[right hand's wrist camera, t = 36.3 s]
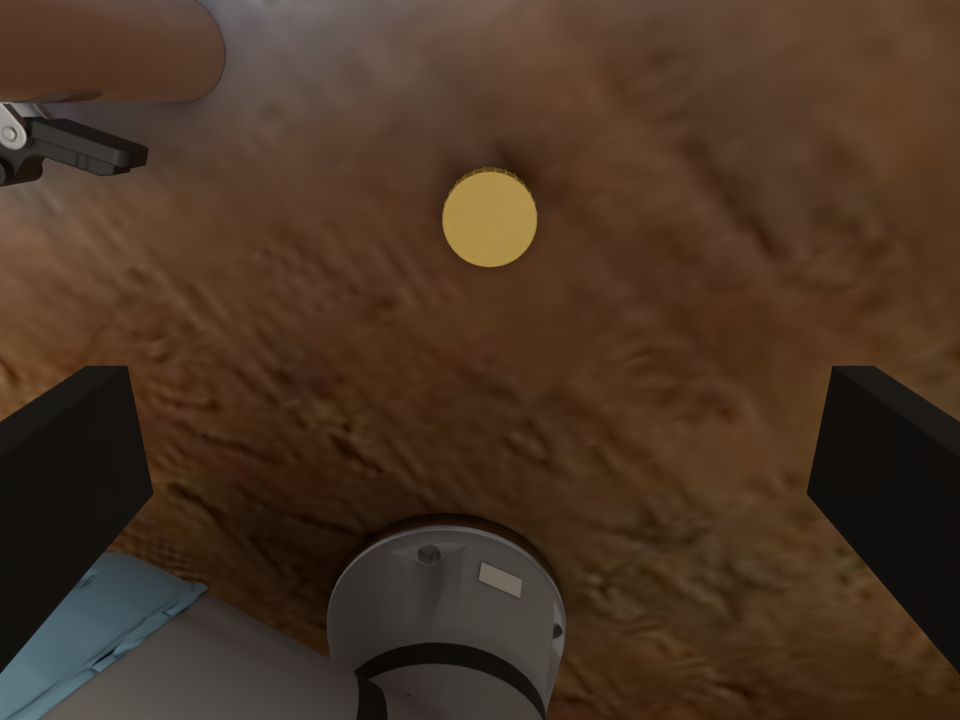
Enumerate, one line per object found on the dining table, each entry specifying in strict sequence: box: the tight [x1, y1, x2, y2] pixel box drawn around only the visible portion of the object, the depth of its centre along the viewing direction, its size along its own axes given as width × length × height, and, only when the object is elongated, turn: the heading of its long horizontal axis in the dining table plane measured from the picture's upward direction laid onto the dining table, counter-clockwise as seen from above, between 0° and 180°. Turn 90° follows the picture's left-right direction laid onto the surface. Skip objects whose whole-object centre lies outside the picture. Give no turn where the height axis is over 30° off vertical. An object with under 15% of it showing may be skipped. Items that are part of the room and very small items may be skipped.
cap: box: [442, 166, 538, 267], centre depth 33 cm, size 5×5×2 cm
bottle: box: [0, 0, 225, 104], centre depth 20 cm, size 5×5×24 cm
